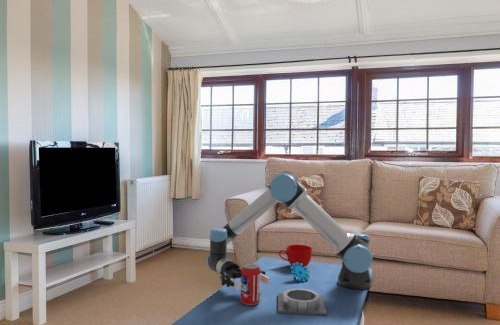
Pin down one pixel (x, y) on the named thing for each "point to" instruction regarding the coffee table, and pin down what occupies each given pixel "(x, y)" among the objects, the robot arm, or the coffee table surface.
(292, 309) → the housing
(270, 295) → the coffee table surface
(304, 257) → the ceramic cup
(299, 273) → the blue spiky toy
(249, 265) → the soda can
